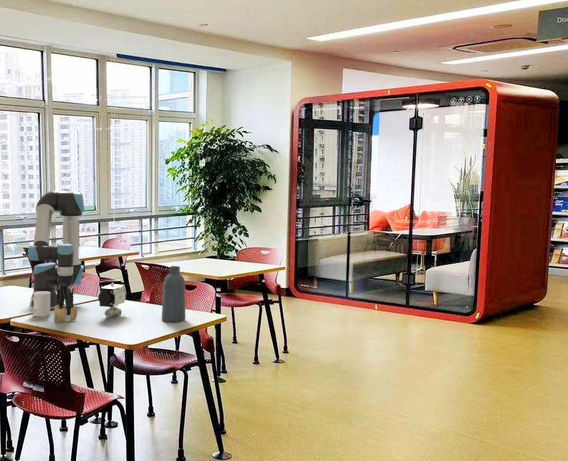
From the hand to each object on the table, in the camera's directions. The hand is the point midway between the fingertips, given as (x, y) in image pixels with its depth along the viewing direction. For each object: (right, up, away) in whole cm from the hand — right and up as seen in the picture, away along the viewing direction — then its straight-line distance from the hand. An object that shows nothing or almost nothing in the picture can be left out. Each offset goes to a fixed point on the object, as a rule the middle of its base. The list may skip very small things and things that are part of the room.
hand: (64, 319), depth 313 cm
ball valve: (+21, 0, +13) cm, 25 cm away
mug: (-17, +1, +9) cm, 19 cm away
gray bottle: (+53, -2, +10) cm, 54 cm away
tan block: (0, 0, 0) cm, 0 cm away
